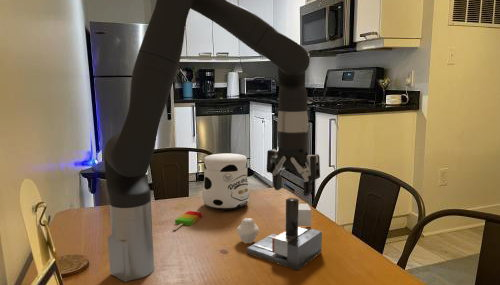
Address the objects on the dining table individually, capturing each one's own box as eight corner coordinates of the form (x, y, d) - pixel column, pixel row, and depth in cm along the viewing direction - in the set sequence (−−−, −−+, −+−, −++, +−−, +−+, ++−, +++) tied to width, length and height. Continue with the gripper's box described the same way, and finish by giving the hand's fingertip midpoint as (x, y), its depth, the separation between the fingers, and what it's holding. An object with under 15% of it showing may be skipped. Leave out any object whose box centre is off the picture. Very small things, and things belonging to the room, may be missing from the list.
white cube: (307, 221, 124) (307, 203, 123) (310, 228, 118) (311, 209, 117) (288, 221, 124) (288, 203, 123) (291, 228, 118) (292, 210, 117)
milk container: (249, 213, 131) (249, 162, 128) (199, 213, 131) (197, 162, 128) (250, 198, 148) (250, 152, 145) (205, 198, 148) (204, 152, 145)
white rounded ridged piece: (246, 235, 113) (246, 212, 111) (263, 240, 109) (263, 217, 108) (232, 242, 108) (232, 218, 107) (249, 248, 104) (249, 223, 103)
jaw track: (297, 270, 91) (298, 247, 90) (247, 253, 101) (247, 231, 100) (321, 253, 101) (321, 231, 100) (273, 238, 110) (273, 218, 109)
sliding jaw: (287, 257, 94) (288, 206, 92) (272, 252, 97) (272, 202, 95) (307, 243, 102) (308, 196, 100) (293, 239, 105) (293, 193, 102)
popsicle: (202, 217, 129) (202, 211, 129) (181, 234, 115) (181, 228, 115) (188, 215, 131) (188, 210, 130) (165, 232, 117) (165, 226, 116)
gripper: (260, 128, 96) (260, 191, 98) (310, 133, 87) (309, 201, 90) (277, 125, 101) (277, 184, 104) (325, 129, 93) (324, 193, 95)
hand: (292, 192), depth 97 cm, fingers open, 8 cm apart
